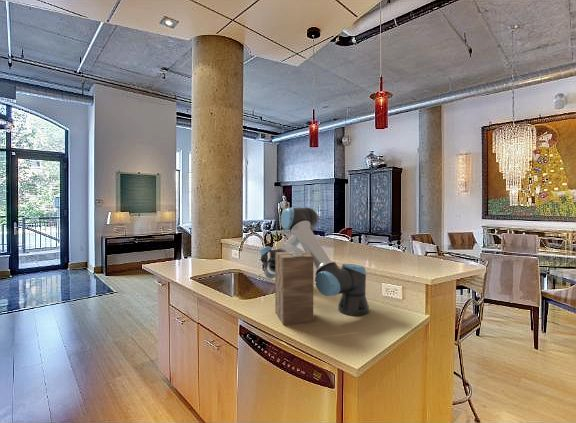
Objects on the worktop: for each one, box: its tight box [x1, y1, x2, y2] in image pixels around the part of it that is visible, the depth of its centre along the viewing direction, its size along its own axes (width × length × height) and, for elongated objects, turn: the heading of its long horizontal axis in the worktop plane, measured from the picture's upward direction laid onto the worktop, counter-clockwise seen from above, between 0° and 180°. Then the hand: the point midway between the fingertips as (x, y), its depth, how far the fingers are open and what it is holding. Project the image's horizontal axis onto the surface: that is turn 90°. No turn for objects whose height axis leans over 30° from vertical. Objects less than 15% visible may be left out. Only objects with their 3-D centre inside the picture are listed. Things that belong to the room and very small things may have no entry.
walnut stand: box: [274, 250, 314, 326], centre depth 150 cm, size 16×14×30 cm
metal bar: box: [280, 241, 303, 257], centre depth 154 cm, size 26×3×3 cm, turn 15°
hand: (282, 253), depth 171 cm, fingers open, 13 cm apart
